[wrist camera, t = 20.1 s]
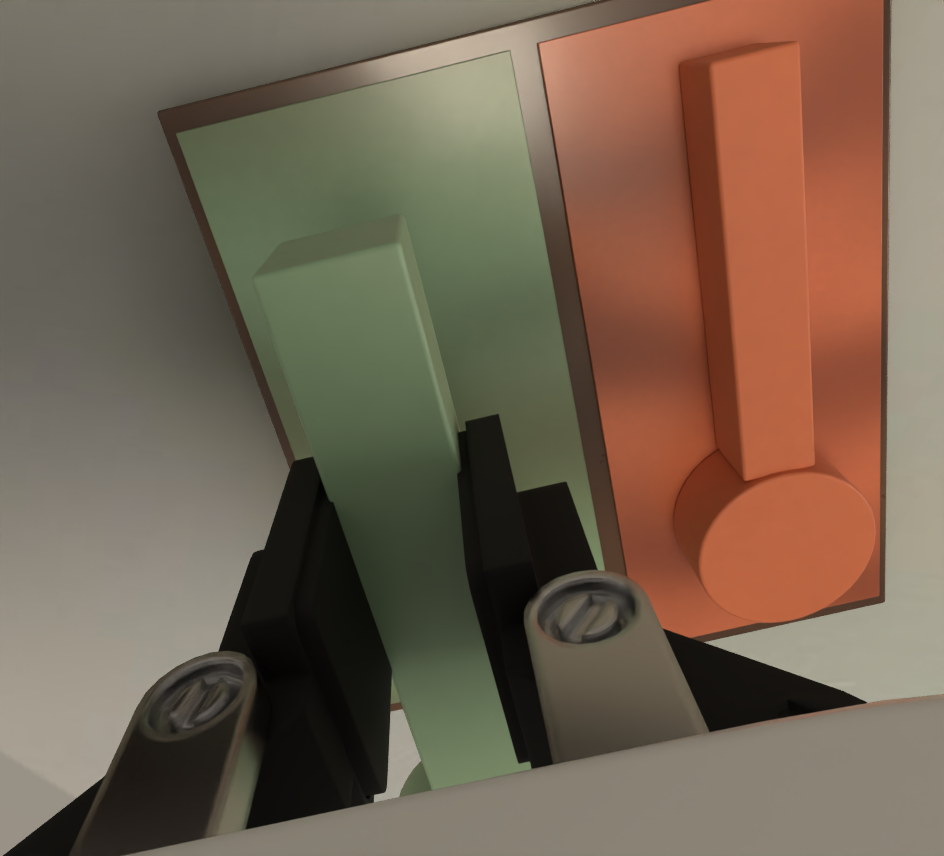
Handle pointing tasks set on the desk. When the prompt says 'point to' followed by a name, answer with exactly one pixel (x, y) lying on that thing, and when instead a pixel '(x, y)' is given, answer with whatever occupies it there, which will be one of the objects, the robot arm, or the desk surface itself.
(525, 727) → the robot arm
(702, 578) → the spoon terracotta
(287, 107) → the board
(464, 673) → the spoon sage
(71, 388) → the desk surface
